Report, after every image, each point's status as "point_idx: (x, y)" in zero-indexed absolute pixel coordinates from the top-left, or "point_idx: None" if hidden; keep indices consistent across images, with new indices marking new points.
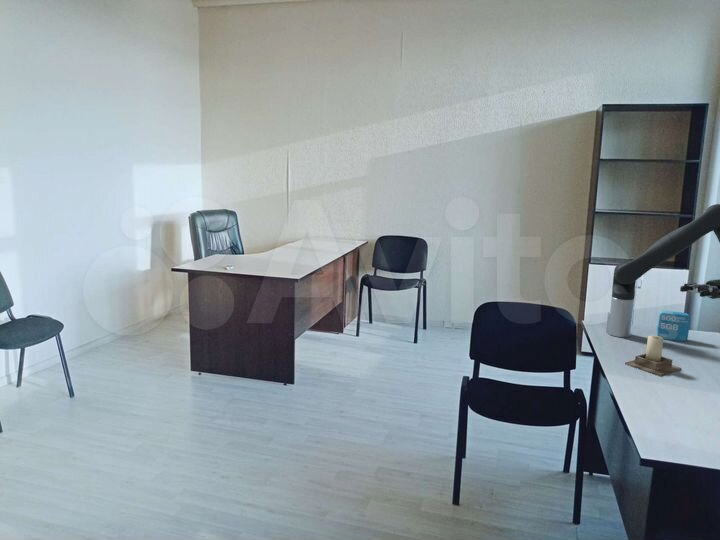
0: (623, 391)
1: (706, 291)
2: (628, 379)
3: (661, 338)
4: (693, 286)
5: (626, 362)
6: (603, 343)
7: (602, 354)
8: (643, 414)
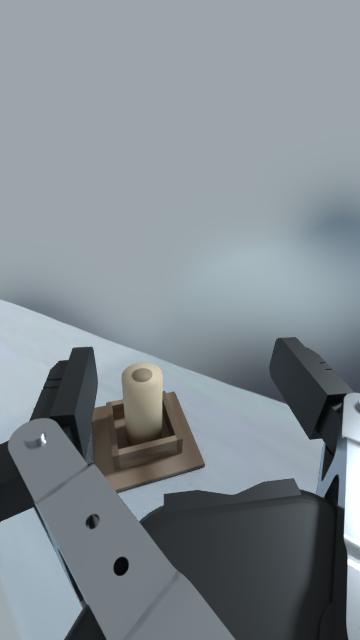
0: (77, 334)
1: (59, 391)
2: (107, 360)
3: (129, 382)
4: (337, 444)
5: (174, 394)
6: None
7: (237, 389)
8: (17, 320)
